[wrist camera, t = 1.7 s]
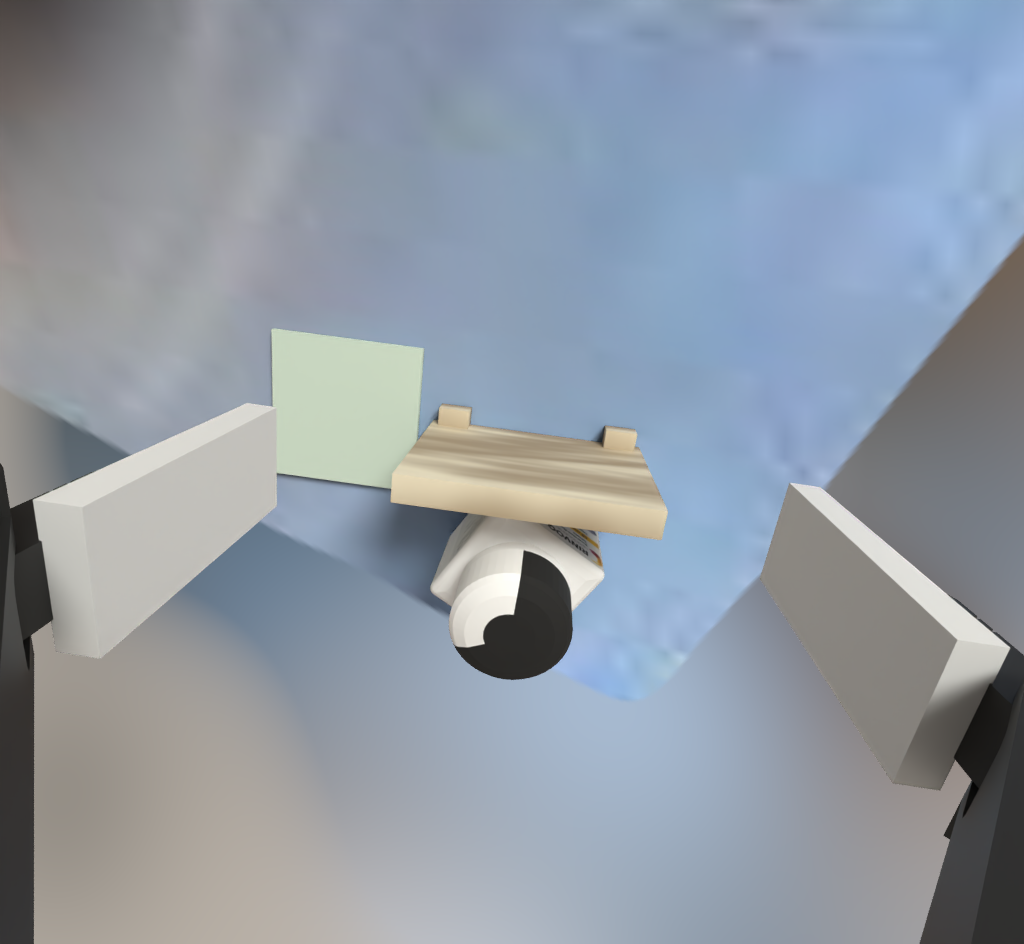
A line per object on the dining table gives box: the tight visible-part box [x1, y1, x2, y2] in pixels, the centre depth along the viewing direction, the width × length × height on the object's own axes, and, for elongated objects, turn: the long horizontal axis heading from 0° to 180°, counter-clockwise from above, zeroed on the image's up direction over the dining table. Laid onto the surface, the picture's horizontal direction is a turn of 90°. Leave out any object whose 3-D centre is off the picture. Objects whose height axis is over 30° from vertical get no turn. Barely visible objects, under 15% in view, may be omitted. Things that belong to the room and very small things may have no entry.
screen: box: [391, 404, 668, 540], centre depth 35 cm, size 4×14×11 cm, turn 83°
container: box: [430, 513, 604, 680], centre depth 37 cm, size 8×8×13 cm
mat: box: [272, 329, 424, 489], centre depth 41 cm, size 10×10×1 cm
